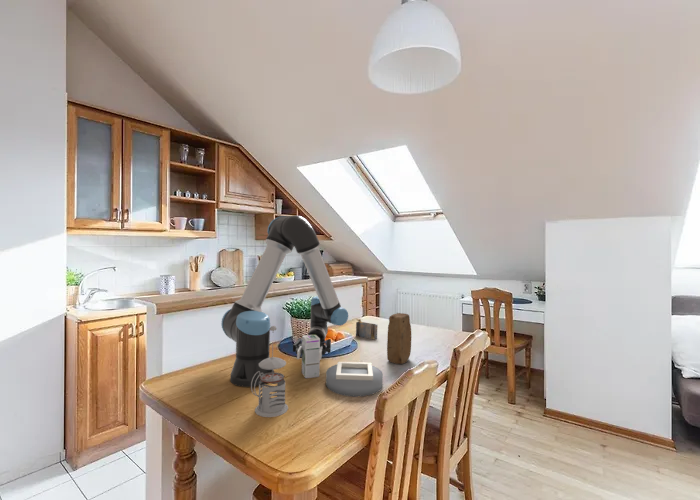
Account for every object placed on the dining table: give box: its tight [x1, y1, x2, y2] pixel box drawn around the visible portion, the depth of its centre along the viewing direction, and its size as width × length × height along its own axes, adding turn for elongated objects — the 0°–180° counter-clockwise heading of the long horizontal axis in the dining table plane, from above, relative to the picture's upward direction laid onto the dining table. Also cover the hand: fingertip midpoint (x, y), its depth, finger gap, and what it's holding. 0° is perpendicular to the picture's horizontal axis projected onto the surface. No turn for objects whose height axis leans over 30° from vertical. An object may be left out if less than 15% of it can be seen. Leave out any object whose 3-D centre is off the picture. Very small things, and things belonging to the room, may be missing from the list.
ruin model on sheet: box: [355, 318, 378, 340], centre depth 181 cm, size 11×3×10 cm, turn 59°
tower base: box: [325, 361, 384, 397], centre depth 123 cm, size 20×20×6 cm
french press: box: [250, 325, 289, 418], centre depth 102 cm, size 10×12×25 cm
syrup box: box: [301, 334, 321, 379], centre depth 129 cm, size 6×6×14 cm
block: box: [386, 312, 412, 365], centre depth 147 cm, size 11×8×20 cm
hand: (308, 355), depth 124 cm, fingers closed on syrup box, 7 cm apart
